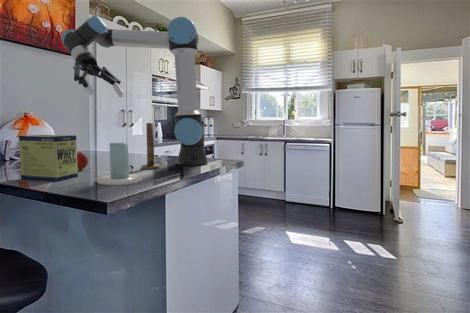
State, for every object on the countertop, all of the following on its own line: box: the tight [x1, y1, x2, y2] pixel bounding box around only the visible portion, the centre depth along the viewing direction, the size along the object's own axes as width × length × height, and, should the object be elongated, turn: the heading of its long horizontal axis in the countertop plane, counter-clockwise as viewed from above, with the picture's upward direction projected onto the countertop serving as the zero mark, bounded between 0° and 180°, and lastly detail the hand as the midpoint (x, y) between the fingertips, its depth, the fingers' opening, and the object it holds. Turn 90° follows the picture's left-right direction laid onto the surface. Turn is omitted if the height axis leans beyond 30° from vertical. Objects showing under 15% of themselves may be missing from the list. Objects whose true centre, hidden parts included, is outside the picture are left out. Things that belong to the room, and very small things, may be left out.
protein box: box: [18, 134, 79, 183], centre depth 114 cm, size 10×16×16 cm
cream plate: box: [96, 173, 144, 186], centre depth 110 cm, size 15×15×1 cm
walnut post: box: [141, 122, 161, 170], centre depth 140 cm, size 8×8×20 cm
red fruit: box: [77, 150, 89, 171], centre depth 133 cm, size 6×6×8 cm
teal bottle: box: [109, 142, 130, 179], centre depth 110 cm, size 6×6×12 cm
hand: (107, 93), depth 127 cm, fingers open, 13 cm apart
